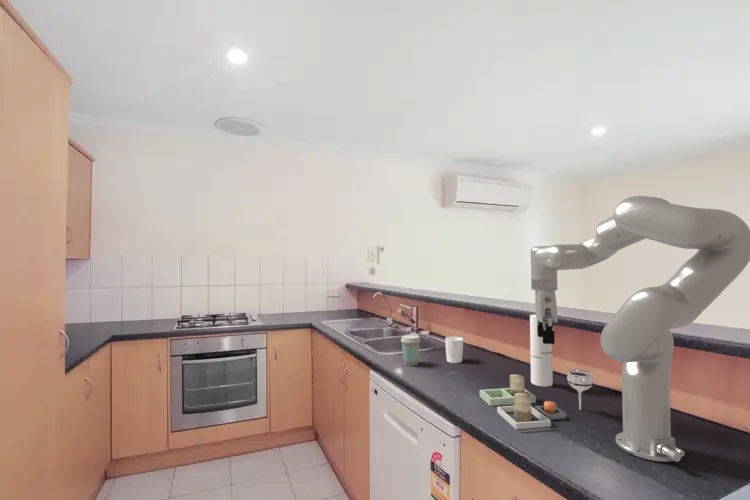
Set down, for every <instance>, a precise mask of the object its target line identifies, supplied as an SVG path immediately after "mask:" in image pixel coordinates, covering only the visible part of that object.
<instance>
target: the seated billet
mask: <svg viewBox="0 0 750 500" xmlns="http://www.w3.org/2000/svg"><path fill="white" fill-rule="evenodd" d="M509 388H510V394H511V395H512V396H514V394H516V393H524V389H525V376H524V375H520V374H510V375H509Z"/></svg>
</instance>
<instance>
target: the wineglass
mask: <svg viewBox="0 0 750 500" xmlns="http://www.w3.org/2000/svg"><path fill="white" fill-rule="evenodd" d="M592 376H593V373H592V372H590V371H589V370H584V369H578V368H576V369H575V368H571V369H567V376H566V379H567V383H568V385H569V386H570V387H571V388H572V389H575V390H576V392H577V393H578V407H579V409H578V410H579V411H581V409H582V393H583V392H584V391H588V390H589V389H590V388H592V386H593V382H594V380H593V378H592Z"/></svg>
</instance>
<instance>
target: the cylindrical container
mask: <svg viewBox="0 0 750 500" xmlns="http://www.w3.org/2000/svg"><path fill="white" fill-rule="evenodd" d="M537 324H538V319H537V318H536V314H530V315H529V330H530V332H529V334H530V335H529V343H530V344H529V345H530V350H529V351H530V383H531V384H532V385H535V386H538V387H544V388H545V387H552V386H553V382H554V380H553V373H554V372H553V344H544V343H543V337H538V333H537Z"/></svg>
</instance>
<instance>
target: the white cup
mask: <svg viewBox="0 0 750 500" xmlns="http://www.w3.org/2000/svg"><path fill="white" fill-rule="evenodd" d="M444 344H445V355H446V361H447V363H451V364H460V363H462V362H463V355H464V354H463V351H464V338H463V337H460V336H459V337H458V336H447V337H445V338H444Z"/></svg>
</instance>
